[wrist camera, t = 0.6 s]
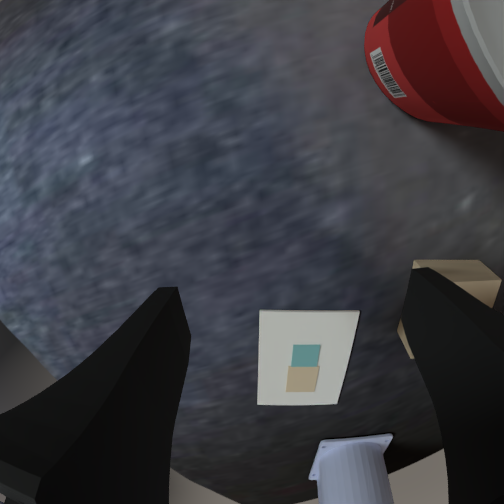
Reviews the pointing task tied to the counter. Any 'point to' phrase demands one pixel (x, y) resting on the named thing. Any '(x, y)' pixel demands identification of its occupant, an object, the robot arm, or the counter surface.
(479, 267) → the oak base brick
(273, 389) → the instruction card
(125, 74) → the counter surface
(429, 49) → the canned food
